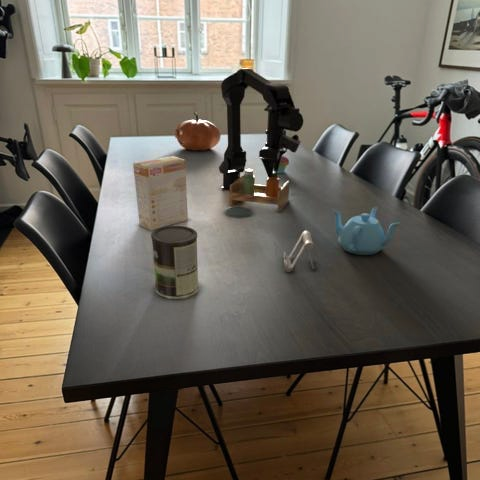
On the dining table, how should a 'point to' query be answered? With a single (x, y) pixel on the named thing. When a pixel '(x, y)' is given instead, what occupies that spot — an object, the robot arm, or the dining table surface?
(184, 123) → the pumpkin
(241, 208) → the coaster
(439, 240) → the dining table surface
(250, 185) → the green bottle
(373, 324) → the dining table surface
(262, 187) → the spice rack
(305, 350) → the dining table surface
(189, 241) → the coffee can
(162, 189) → the coffeecake box
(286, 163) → the cupcake
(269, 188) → the amber bottle
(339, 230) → the teapot
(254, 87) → the robot arm
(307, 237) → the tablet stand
